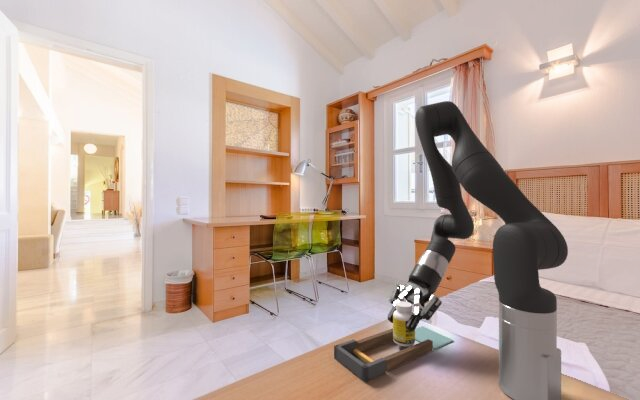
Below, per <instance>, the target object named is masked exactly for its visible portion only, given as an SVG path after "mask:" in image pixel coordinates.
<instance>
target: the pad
mask: <svg viewBox="0 0 640 400" xmlns="http://www.w3.org/2000/svg"><path fill="white" fill-rule="evenodd" d="M428 339H429V340H432V341H433V351H434V350H437V349H440V348H441V347H443V346H445V345H448V344H450V343H452V342H454V339H452V338H450V337H448V336H445V335H443V334H441V333H439V332H436V331H434V330H432V329H430V328H427V327H425V326H423V325H421V326H419V327H416V329H415V342H416V341H417V342H418V343H420V342H423V341H425V340H428Z"/></svg>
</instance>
